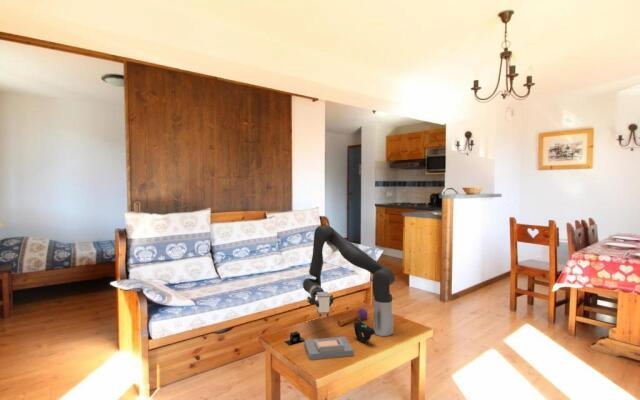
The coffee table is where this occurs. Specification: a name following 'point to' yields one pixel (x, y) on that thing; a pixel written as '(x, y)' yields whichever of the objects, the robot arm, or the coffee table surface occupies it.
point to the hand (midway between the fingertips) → (324, 305)
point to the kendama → (354, 317)
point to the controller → (363, 331)
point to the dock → (328, 348)
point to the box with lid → (323, 303)
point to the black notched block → (294, 339)
